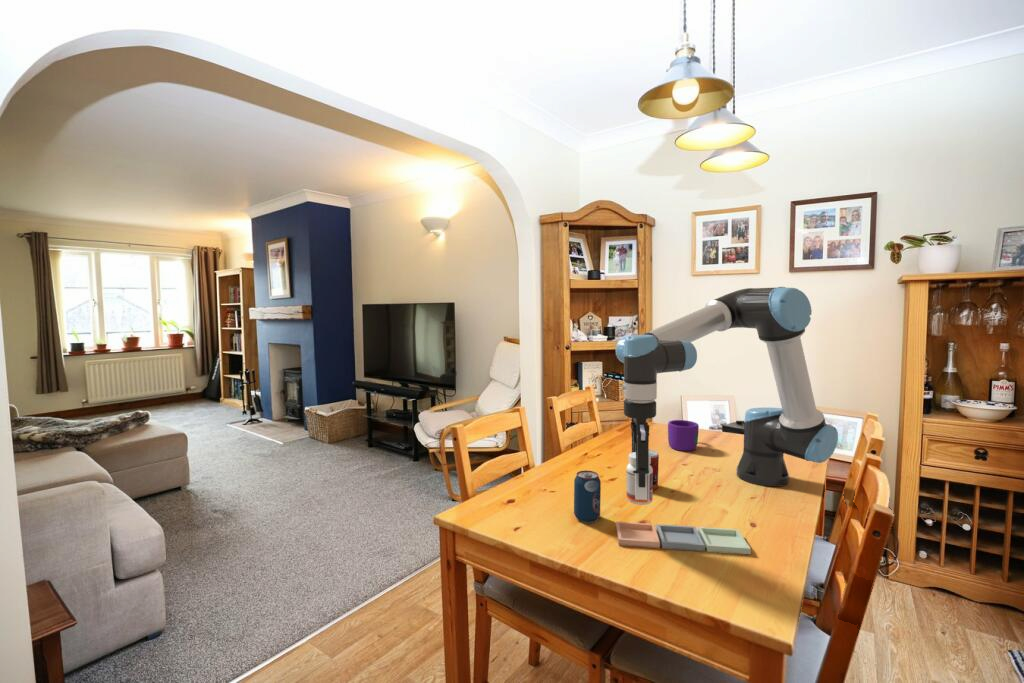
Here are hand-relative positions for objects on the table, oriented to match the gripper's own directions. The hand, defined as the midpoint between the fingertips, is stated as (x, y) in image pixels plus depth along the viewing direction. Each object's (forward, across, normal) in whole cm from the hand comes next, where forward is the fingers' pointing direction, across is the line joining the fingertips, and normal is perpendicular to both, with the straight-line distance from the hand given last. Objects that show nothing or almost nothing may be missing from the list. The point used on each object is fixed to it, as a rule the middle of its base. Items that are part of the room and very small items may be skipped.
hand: (639, 492), depth 117 cm
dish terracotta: (+11, 0, -1) cm, 11 cm away
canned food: (+12, -34, +5) cm, 36 cm away
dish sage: (+11, 0, +19) cm, 23 cm away
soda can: (+11, -9, -13) cm, 19 cm away
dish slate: (+11, 0, +9) cm, 15 cm away
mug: (+13, -80, +26) cm, 85 cm away
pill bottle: (+2, 0, 0) cm, 2 cm away
